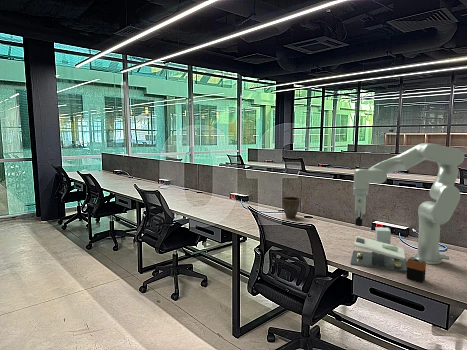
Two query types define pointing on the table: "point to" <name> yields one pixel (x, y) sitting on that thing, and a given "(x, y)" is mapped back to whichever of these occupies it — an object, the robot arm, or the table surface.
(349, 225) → the table surface
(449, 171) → the robot arm
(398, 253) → the level plate
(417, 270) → the battery
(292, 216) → the plant pot
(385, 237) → the supplement box
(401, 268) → the tribrach base
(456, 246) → the table surface
